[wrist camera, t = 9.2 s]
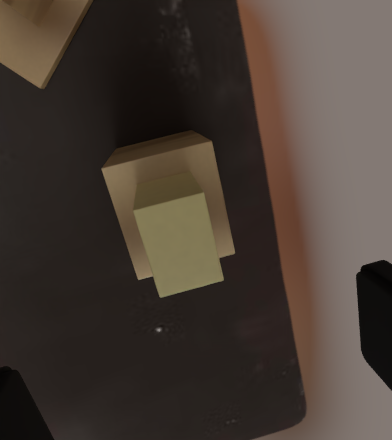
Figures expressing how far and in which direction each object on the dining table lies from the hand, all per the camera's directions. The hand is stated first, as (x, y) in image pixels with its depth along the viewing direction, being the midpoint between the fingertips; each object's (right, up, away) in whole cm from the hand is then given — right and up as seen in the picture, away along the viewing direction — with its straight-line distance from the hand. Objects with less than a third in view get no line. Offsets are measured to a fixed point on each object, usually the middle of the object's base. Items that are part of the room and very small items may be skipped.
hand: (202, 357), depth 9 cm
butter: (-2, +4, +13) cm, 14 cm away
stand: (-3, +7, +22) cm, 24 cm away
